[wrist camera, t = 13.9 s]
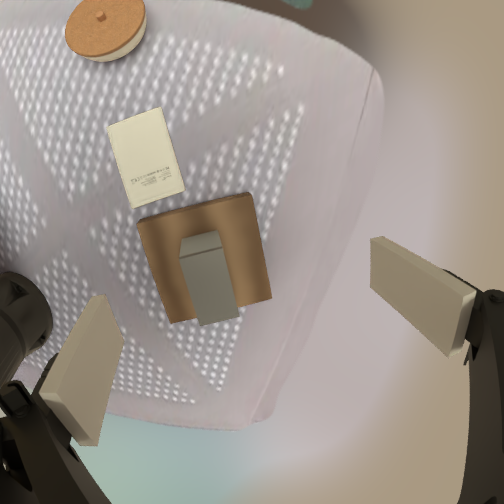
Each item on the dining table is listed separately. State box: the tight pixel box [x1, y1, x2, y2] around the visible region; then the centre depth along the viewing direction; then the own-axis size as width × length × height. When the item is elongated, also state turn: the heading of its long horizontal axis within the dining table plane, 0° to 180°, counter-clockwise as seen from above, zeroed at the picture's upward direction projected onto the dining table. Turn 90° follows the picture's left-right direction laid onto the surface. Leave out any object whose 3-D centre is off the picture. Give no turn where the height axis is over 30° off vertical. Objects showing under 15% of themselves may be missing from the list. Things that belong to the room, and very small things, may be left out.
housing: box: [179, 230, 240, 326], centre depth 38 cm, size 5×9×8 cm, turn 11°
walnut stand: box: [137, 192, 272, 324], centre depth 43 cm, size 16×16×3 cm
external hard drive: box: [107, 107, 186, 209], centre depth 38 cm, size 2×8×12 cm
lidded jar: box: [65, 0, 147, 62], centre depth 27 cm, size 11×11×9 cm
